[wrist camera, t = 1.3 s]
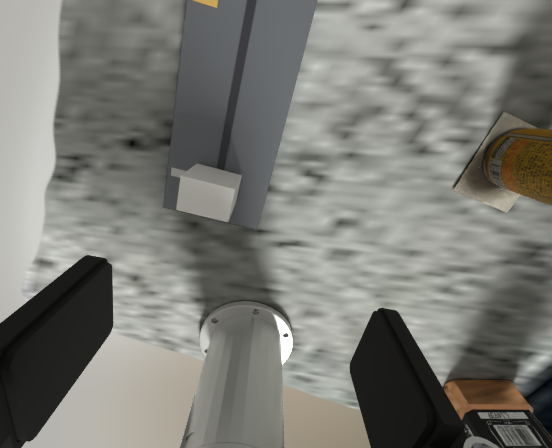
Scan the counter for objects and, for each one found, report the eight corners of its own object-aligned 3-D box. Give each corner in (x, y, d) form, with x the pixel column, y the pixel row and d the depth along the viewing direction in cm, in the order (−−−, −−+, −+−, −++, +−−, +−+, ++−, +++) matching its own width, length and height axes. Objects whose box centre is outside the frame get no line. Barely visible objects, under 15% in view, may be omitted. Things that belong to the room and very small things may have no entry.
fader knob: (235, 203, 28) (227, 222, 24) (192, 192, 28) (176, 209, 23) (241, 175, 27) (235, 189, 22) (197, 163, 27) (180, 175, 22)
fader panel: (258, 222, 32) (256, 230, 30) (169, 201, 31) (162, 207, 29) (323, -25, 23) (327, -38, 21) (202, -67, 22) (195, -84, 20)
